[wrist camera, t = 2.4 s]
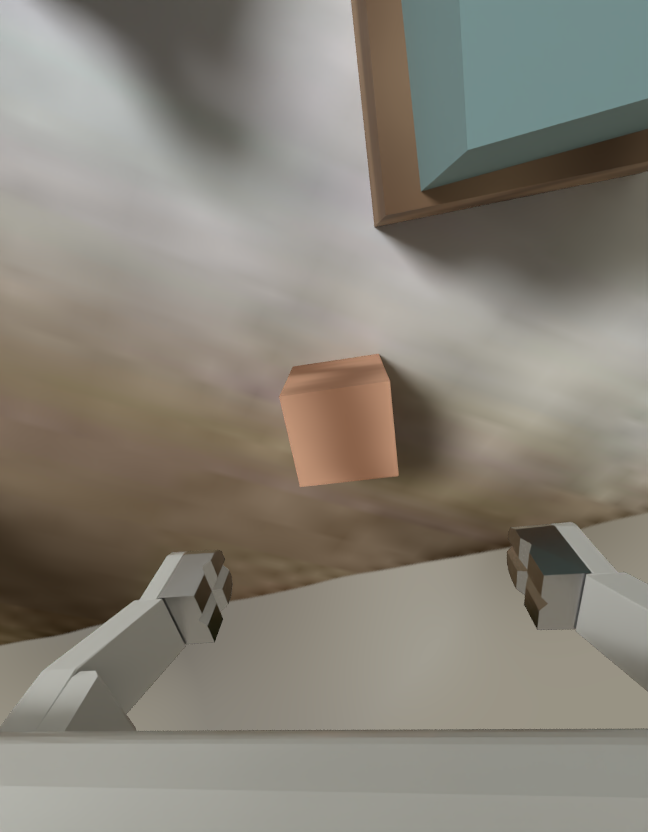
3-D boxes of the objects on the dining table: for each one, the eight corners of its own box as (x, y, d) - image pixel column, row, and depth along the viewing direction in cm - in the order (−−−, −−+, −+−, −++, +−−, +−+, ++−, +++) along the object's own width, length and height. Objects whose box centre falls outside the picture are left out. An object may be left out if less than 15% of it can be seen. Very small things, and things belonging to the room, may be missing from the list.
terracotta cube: (308, 440, 22) (300, 486, 18) (293, 366, 20) (279, 396, 16) (386, 430, 22) (398, 475, 17) (378, 353, 20) (389, 380, 15)
